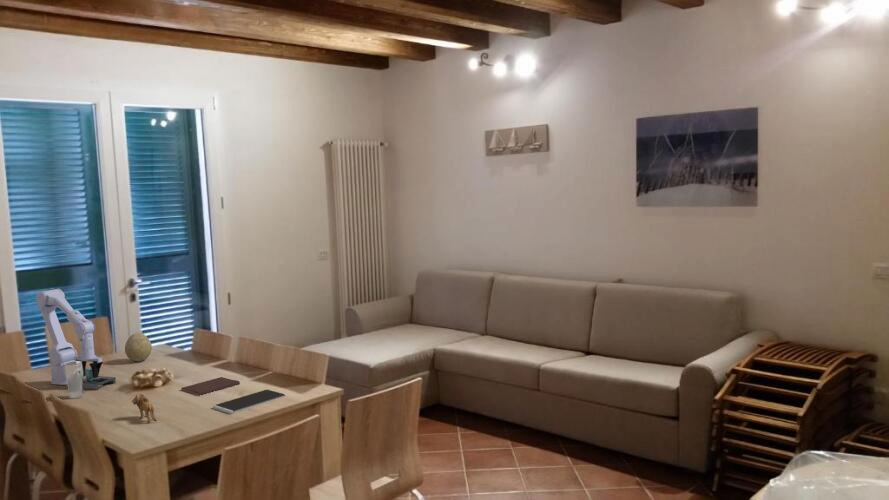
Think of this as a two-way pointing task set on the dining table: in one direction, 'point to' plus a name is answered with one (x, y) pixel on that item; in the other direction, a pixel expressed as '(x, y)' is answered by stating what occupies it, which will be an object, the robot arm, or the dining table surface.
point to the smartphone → (248, 401)
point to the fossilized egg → (138, 347)
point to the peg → (89, 374)
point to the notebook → (210, 386)
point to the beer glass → (74, 379)
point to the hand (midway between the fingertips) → (89, 377)
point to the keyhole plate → (97, 382)
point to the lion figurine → (144, 406)
